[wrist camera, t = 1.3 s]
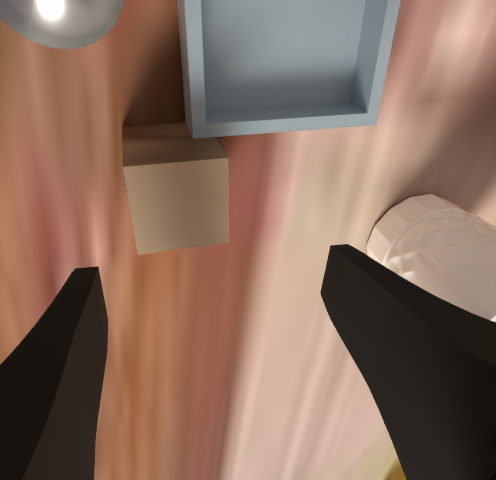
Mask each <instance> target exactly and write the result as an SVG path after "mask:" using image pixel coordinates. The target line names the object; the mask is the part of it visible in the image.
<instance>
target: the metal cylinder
mask: <svg viewBox="0 0 496 480" xmlns="http://www.w3.org/2000/svg"><path fill="white" fill-rule="evenodd" d="M123 4H124V0H0V18H1V19H2V20H3V21H4V22H5V23H6V24H7V25H9V26H10V27H11V28H12V29H13V30H15V31H16V32H18V33H19V34H21V35H22V36H24V37H26V38H28V39H29V40H31V41H34V42H36V43H38V44H41V45H44V46H48V47H52V48H58V49H75V48H80V47H85V46H88V45H90V44H92V43H94V42H96V41H98V40H100V39H101V38H102V37H103V36H105V35H106V34H107V33H108V32H109V31H110V30H111V29H112V27H113V26H114V24H115V23H116V21H117V20H118V18H119V15H120V13H121V11H122V8H123Z"/></svg>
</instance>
